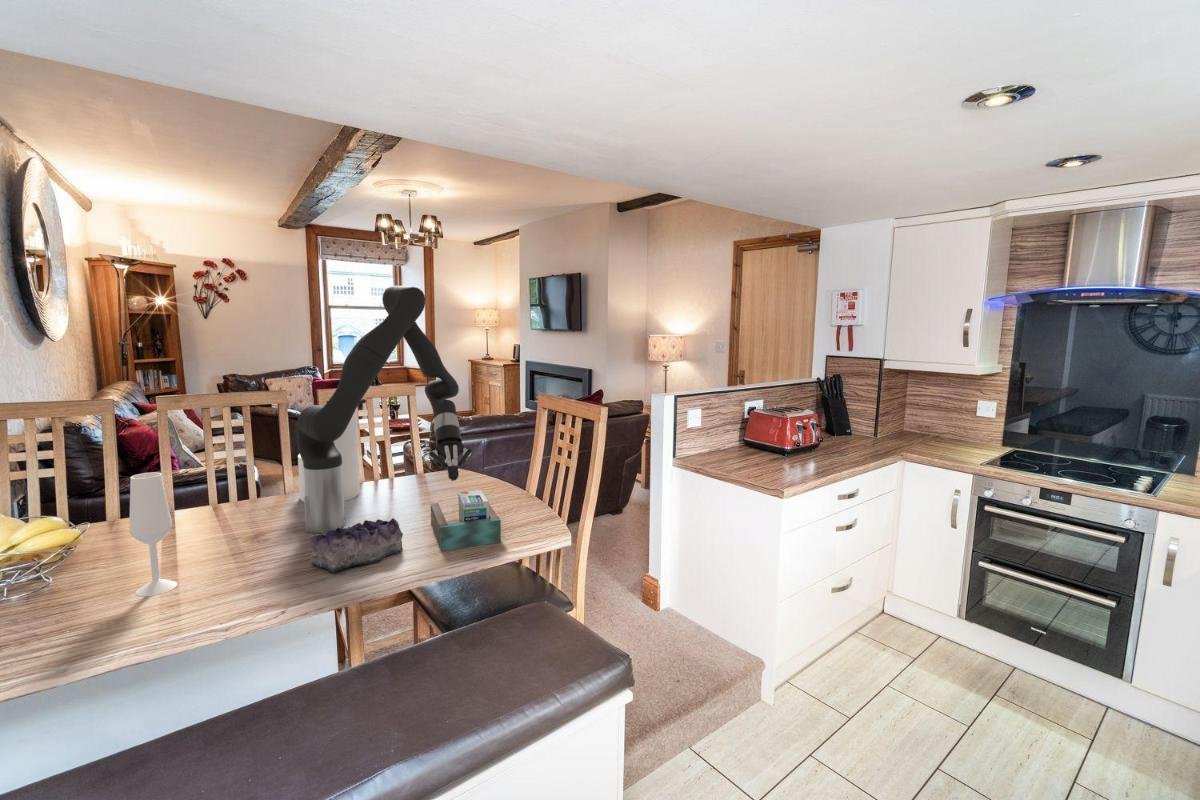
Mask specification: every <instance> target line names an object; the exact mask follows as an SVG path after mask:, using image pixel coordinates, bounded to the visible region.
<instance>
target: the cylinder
mask: <svg viewBox="0 0 1200 800" xmlns="http://www.w3.org/2000/svg"><path fill="white" fill-rule="evenodd" d="M300 413H301V412H299V413H298V414H299V415H300ZM299 415H298V416H299ZM358 426H359V424H358V407H357V408H356V410H355V412H354V414H353V416H352V418H351V420H350V422H349V424H348V426H347V428H346V430H345V431H344V433H343V434H342V435H341V436H340V437H339V438H338V439H337V440H335V441H334V444H335V447H336V448H337V450H338V451H339V452H340V453H341V456H342V473H343V496H344V502H346V501H348V500H351V499H354V498H356V497H358V496H359V495H360V494H361V481H360V479H361V478H360V455H359V454H360V453H359V451H360V450H359V449H360V448H359V430H358V428H359V427H358ZM297 465H298V467H297V468H298V483H299V499H300V501H301V502H303V503H304V497H305V486H304V468H303V460H302V458H301V456H300V453H299V454H298V455H297Z"/></svg>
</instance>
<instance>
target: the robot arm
mask: <svg viewBox="0 0 1200 800" xmlns="http://www.w3.org/2000/svg"><path fill="white" fill-rule="evenodd" d="M382 304H383V307H384V309H385V312H386V313H387V314H388V315H387V316H386V317H385V319H384V320H383V321H382V322H381V323H379V324H378V325H377V326H375V327H374V328H372V329H371V330H369V331H368V332H367V333H365V334H364V335H363V336H361V338H360V339H359V340H358V341H357V342H356V343H355V344H354V346H353V347H352V349H351V350H350V352H349V353H348V355H347V356H346V358H345V359H344V362H343V364H342V368H341V373H340V379H339V382H338V385H337V388H336V389H335V391H334V392H333V394H332V395H331V397H330V398H329V399H328V400H327V402H326V403H325V405H321V404H320V405H318V404H315V405H309V406H307V407H305V408H304V409H303V410H302V411H301V412H299V413H300V415H298V418H297V421H296V423H297V424H296V433H297V441H298V450H299V451H298V452H299V454H300V456H301V458H302V460H303V468H304V486H305V497H304V502H303V504H304V521H305V522H304V523H305V525H304V526H305V533H306V534H307V533H312V534H313V533H314V534H323V533H324V532H325V531H327V530H336V529H337V528H342V529H343V528H344V526H345V523H346V522H345V519H346V518H345V501H344V496H343V473H342V456H341V453H340V452H339V451H338V450H337V448H336V447H335V444H334V441H335V440H337V439H338V438H339V437H340V436H341V435H342V434H343V433H344V431H345V430H346V428H347V426H348V424H349V422H350V420H351V418H352V416H353V414H354V412H355V410H356V408H357V409H358V407H359V404H360V402H361V401H362V399H363V398H364V396H365V395H366V393H367V392H368V390H369V389H370V387H371V385H372V384H373V382H374V380H375V379H376V377H378V375H379V374H380V372H381V371H382V369H383V367H384V366H385V365H386V363H387V361H388V359H389V358H390V356H391V355H392V353H394V350H395V349H396V347H398V344H399V343H400V342H401V340H402V338H404V340H405V342H406V344H407V345H408V347H409V349H410V351H411V352H412V355H413V356H414V358H415V361H416V362H417V365H418V367H419V370H420V372H421V374H422V376H424V377H425V378H429V379H430V378H431V379H433V378H436V379H435V380H431V381H428V382H427V383H426V385H425V386H424V393H425V396H426V397H427V399H428V401H429V403H430V405H431V409H432V413H433V423H434V425H433V427H434V435H435V436H434V437H435V443H436V444H435V445H436V446H435V450H433V451H430V452H429V454H428V455H429V456H428V458H429V460H431V461H432V462H433V463H434V464H435V465H436V466H437V467H439V468H440V469H441V470H446V471H447V477H448V479H449V480H450V481H452V482H453V481H457V479H459V475H460V474H459V469H462V468H463V467H464V466H465V463H467V461H468V460H469V459H470V457H471V454H472V449H471V448H468V449H467V448H466V447H465V445H464V444H463V442H462V441H463V440H462V435H461V428H460V423H459V418H458V415H457V414H458V413H457V409H456V404H455V402H454V401H452V400H450V399H451V398H454V397H456V396H458V394H459V391H460V390H459V389H460V387H459V383H458V382H457V380H456V379H455V377H454V376H452V374H451V373H450V372H449V371H448V369H447V368H446V366H445V365H444V363H443V361H442V359H441V356H440V354H439V352H438V349H437V348H436V346H435V344H433V342H432V340H430V339H429V337H428V336H427V335H426V334H425V333H424V332H423V331H422V329H421V328H420V327H419V325H418V323H417V322H416V320H418V319H419V317H420V316H421V315H422V313H423V311H424V309H425V306H426V296H425V294H424V292H423V290H421V288H419V287H416V286H412V285H391V286H389V287H387V288H386V289H385V290H384V292H383V294H382ZM461 455H462V457H461V459H459V458H460V456H461ZM458 459H459V461H458Z"/></svg>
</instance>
